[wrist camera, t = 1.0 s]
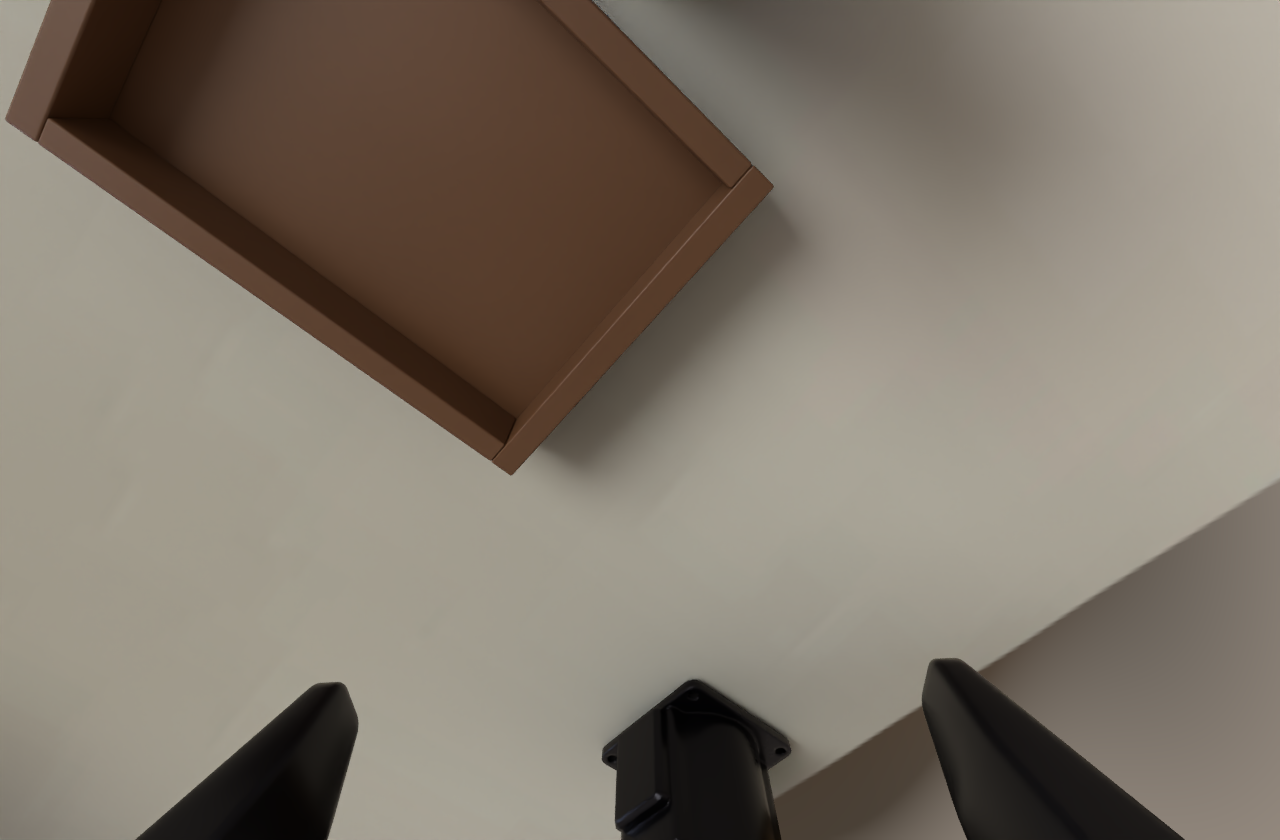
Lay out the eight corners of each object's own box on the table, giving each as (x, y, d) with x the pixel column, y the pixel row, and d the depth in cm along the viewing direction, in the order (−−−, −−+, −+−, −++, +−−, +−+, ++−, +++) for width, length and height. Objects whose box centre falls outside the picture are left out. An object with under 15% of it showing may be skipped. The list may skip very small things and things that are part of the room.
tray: (757, 179, 18) (774, 186, 16) (525, 439, 22) (511, 476, 20) (276, -308, 14) (202, -398, 11) (87, 121, 18) (3, 120, 15)
